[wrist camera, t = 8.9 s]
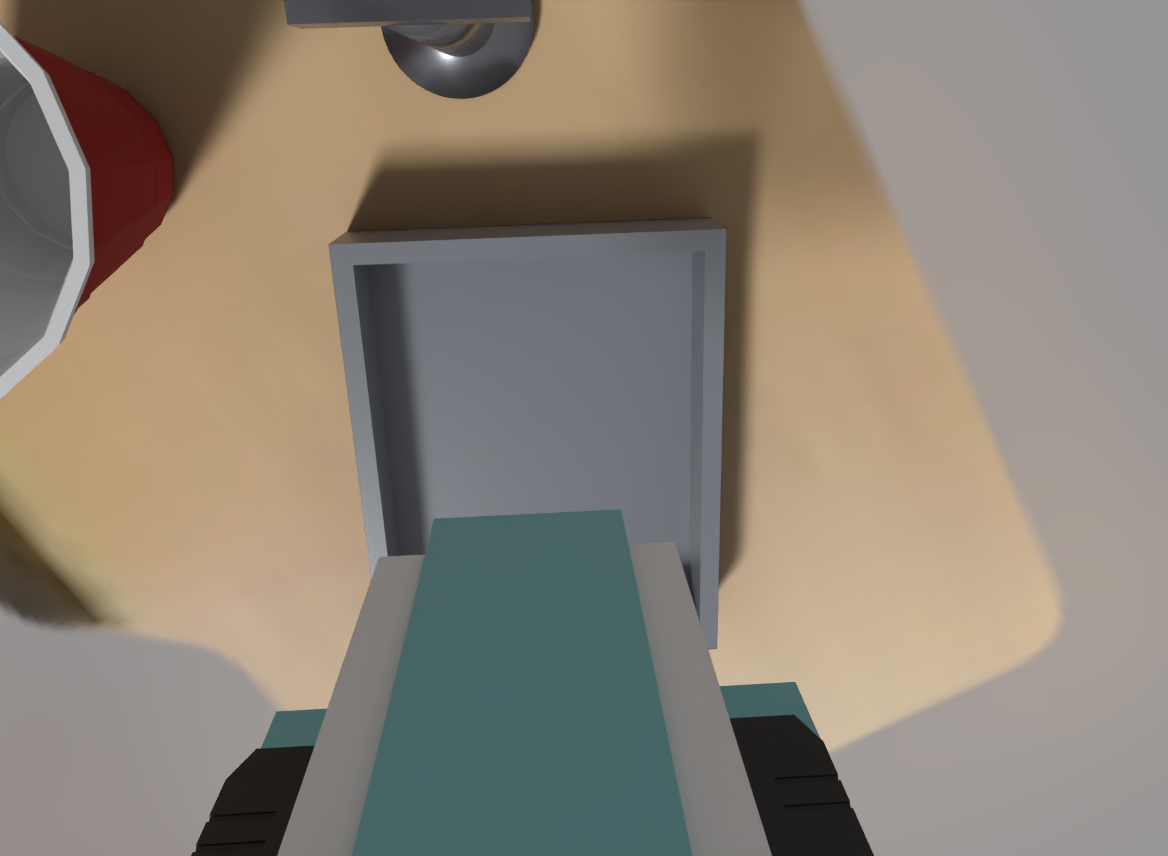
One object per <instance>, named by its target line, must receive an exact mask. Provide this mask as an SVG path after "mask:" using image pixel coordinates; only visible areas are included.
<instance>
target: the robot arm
mask: <svg viewBox="0 0 1168 856" xmlns="http://www.w3.org/2000/svg"><path fill="white" fill-rule="evenodd" d="M628 545H629V550H630V555H631V560H632V565H633V569H634V574H635V579H636V584H637V589H638V594H639V599H640V603H641V608H642V613H643V618H644V623H645V628H646V633H647V638H648V642H649V647H650V652H651V657H652V662H653V667H654V672H655V676H656V681H657V686H658V691H659V696H660V701H661V706H662V710H663V715H664V720H665V725H666V730H667V735H668V740H669V745H670V749H671V754H672V759H673V764H674V769H675V774H676V779H677V783H678V788H679V793H680V798H681V803H682V808H683V813H684V817H685V822H686V827H687V832H688V837H689V842H690V847H691V852H692V856H874V855H873V853H872V850H871V848H870V846H869V843H868V841H867V839H866V837H865V834H864V832H863V830H862V828H861V825H860V823H859V821H858V819H857V817H856V814H855V812H854V810H853V808H851V807H850V801H849V798H848V796H847V794H846V792H845V790H844V787H843V785H842V782H841V781H840V780H838V774H837V771H836V769H835V767H834V764H833V762H832V760H831V758H830V755H829V753H828V751H827V749H826V746H825V744H824V742H823V741H822V740H821V739H820V738H819V737H818V736H817V735H816V734H815V733H814V732H813V731H812V730H810V729H809V728H808V727H807V726H806V725H805V724H804V723H803V722H802V721H801V720H800V719H799V718H798V717H796V716H795V715H778V716H760V717H743V718H729V715H728V712H727V709H726V706H725V703H724V699H723V696H722V693H721V690H720V686H719V683H718V680H717V677H716V673H715V670H714V667H713V664H712V661H711V657H710V654H709V651H708V648H707V644H706V641H705V638H704V635H703V632H702V628H701V625H700V622H699V619H698V615H697V612H696V609H695V606H694V602H693V599H692V596H691V593H690V590H689V586H688V583H687V580H686V577H685V573H684V570H683V567H682V564H681V560H680V557H679V554H678V551H677V548H676V544H675V542H659V543H640V544H628ZM424 557H425V555H406V556H387V557H379V559H378V562H377V565H376V568H375V570H374V573H373V576H372V579H371V582H370V585H369V588H368V591H367V594H366V597H365V600H364V603H363V606H362V609H361V612H360V614H359V617H358V620H357V623H356V626H355V629H354V632H353V635H352V638H351V641H350V644H349V647H348V650H347V653H346V656H345V658H344V661H343V664H342V667H341V670H340V673H339V676H338V679H337V682H336V685H335V688H334V691H333V694H332V697H331V700H330V702H329V705H328V708H327V711H326V714H325V717H324V720H323V723H322V726H321V729H320V732H319V735H318V738H317V741H316V744H315V745H312V746H295V747H278V748H261V749H256V750H255V751H254V752H253V753H252V754H251V755H250V756H249V757H248V758H247V759H246V760H245V761H244V762H243V763H242V764H241V765H240V766H239V767H238V768H237V769H236V770H235V771H234V772H233V773H232V774H231V775H230V776H229V777H228V778H227V779H226V780H225V782H224V785H223V787H222V789H221V791H220V793H219V796H218V798H217V800H216V802H215V804H214V807H213V809H212V811H211V813H210V820H209V822H207V823H206V824H205V827H204V829H203V831H202V833H201V835H200V838H199V840H198V842H197V844H196V852H193V853H192V855H191V856H352V854H353V850H354V845H355V841H356V837H357V833H358V829H359V825H360V821H361V817H362V813H363V808H364V804H365V800H366V796H367V792H368V788H369V784H370V780H371V775H372V771H373V767H374V763H375V759H376V755H377V751H378V747H379V742H380V738H381V734H382V730H383V726H384V722H385V718H386V714H387V710H388V705H389V701H390V697H391V693H392V689H393V685H394V681H395V677H396V672H397V668H398V664H399V660H400V656H401V652H402V648H403V644H404V640H405V635H406V631H407V627H408V623H409V619H410V615H411V611H412V607H413V602H414V598H415V594H416V590H417V586H418V582H419V578H420V574H421V569H422V565H423V561H424Z"/></svg>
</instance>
